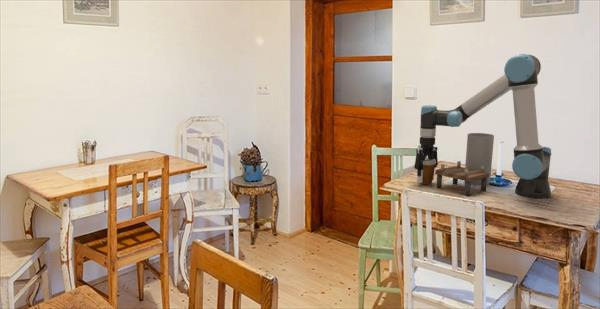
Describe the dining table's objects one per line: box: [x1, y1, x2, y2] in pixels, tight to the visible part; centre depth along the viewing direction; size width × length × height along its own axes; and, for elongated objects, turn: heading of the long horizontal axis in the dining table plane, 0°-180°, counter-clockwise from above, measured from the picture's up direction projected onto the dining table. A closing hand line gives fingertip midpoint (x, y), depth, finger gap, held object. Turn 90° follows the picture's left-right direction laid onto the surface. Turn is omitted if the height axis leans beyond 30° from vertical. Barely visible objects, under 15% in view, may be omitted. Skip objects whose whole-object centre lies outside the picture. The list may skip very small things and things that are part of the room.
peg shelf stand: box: [434, 160, 489, 197], centre depth 229 cm, size 19×16×12 cm
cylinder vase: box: [464, 132, 495, 187], centre depth 241 cm, size 12×12×25 cm
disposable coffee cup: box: [421, 157, 436, 185], centre depth 239 cm, size 10×10×12 cm
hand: (425, 181), depth 240 cm, fingers closed on disposable coffee cup, 8 cm apart
